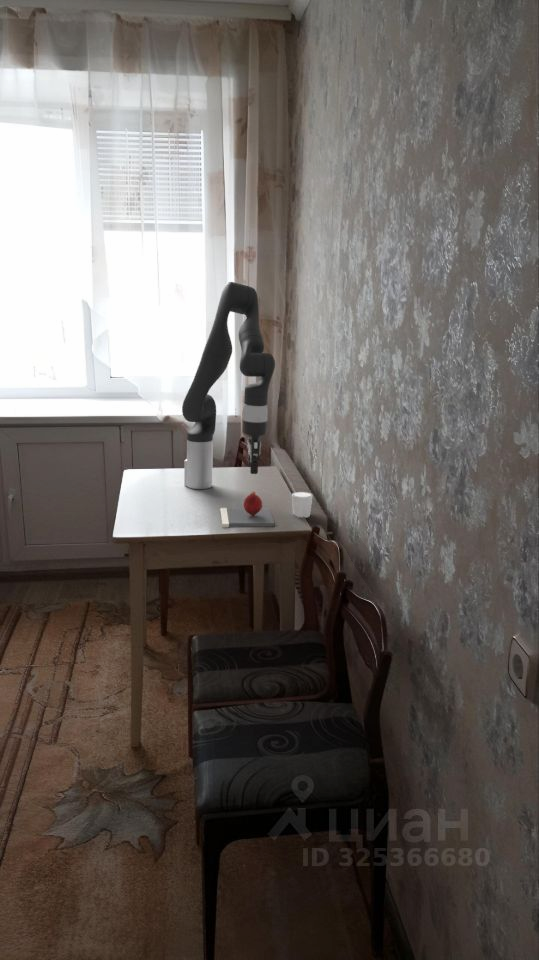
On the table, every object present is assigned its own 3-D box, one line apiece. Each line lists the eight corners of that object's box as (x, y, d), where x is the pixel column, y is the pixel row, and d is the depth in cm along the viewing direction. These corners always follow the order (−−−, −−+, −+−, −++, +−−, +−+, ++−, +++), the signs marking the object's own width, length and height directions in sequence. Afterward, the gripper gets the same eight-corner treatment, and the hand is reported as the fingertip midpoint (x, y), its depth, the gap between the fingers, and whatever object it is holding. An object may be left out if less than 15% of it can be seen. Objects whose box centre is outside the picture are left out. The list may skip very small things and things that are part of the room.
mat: (222, 527, 228) (222, 523, 228) (220, 511, 244) (220, 507, 243) (274, 527, 230) (274, 523, 230) (269, 511, 245) (269, 507, 245)
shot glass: (289, 511, 246) (290, 491, 244) (310, 511, 246) (311, 491, 244) (292, 518, 239) (292, 497, 237) (313, 518, 240) (314, 497, 238)
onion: (259, 519, 233) (259, 495, 231) (241, 518, 235) (241, 493, 232) (263, 513, 239) (264, 489, 236) (246, 511, 240) (246, 488, 238)
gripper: (269, 423, 222) (267, 476, 226) (265, 414, 235) (263, 464, 240) (244, 423, 221) (242, 476, 225) (241, 413, 235) (239, 463, 239)
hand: (252, 470), depth 233 cm, fingers open, 8 cm apart
